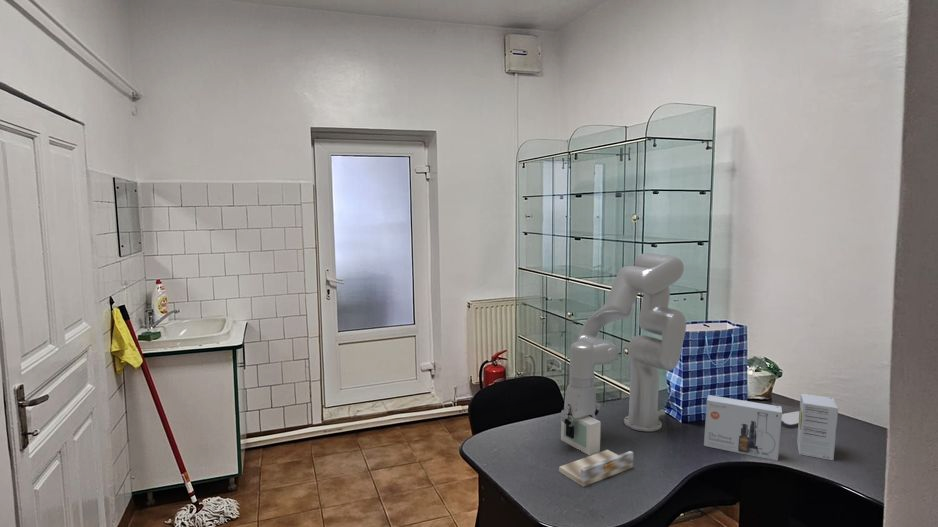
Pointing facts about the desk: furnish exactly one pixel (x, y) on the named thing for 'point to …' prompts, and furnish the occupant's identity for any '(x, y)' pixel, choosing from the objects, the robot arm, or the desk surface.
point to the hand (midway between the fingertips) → (580, 433)
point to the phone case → (790, 419)
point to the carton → (584, 434)
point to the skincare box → (743, 427)
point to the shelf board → (597, 467)
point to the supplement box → (817, 426)
